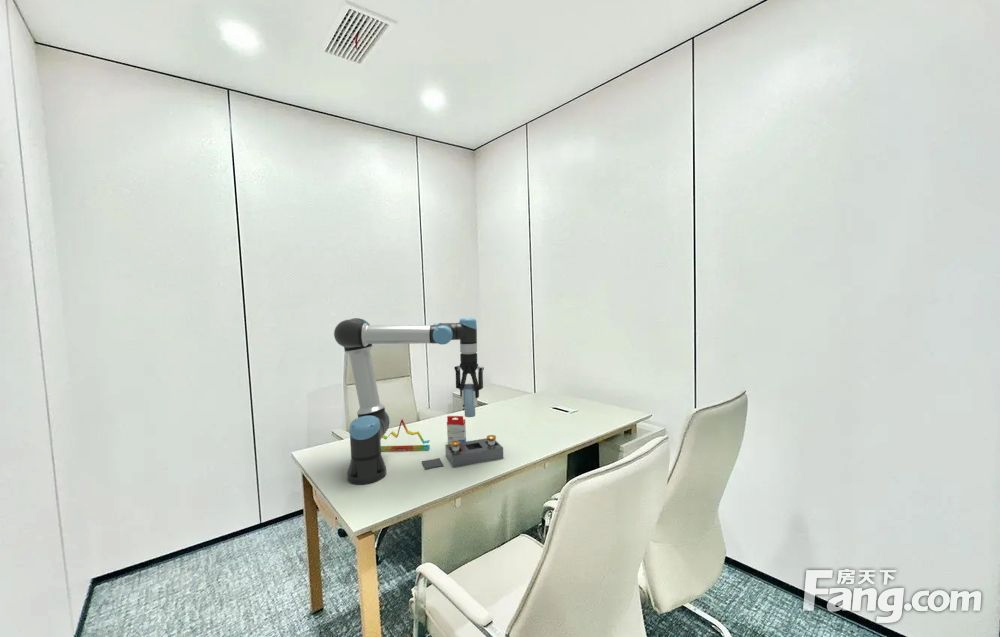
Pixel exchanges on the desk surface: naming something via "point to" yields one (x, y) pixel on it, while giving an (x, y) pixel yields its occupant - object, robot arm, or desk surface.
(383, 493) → the desk surface
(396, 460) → the desk surface
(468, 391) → the cylinder
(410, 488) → the desk surface
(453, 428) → the ink box
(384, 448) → the chart
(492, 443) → the plunger far
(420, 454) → the desk surface
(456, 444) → the plunger near
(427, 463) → the pad
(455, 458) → the housing
